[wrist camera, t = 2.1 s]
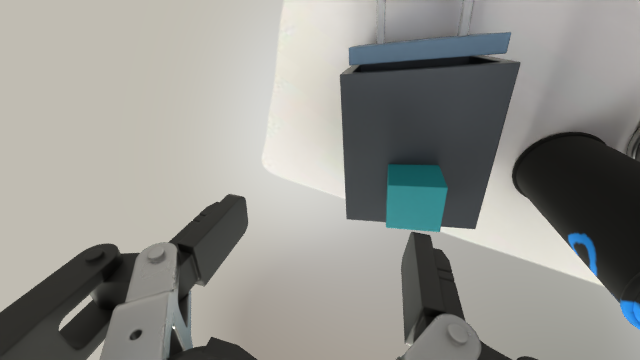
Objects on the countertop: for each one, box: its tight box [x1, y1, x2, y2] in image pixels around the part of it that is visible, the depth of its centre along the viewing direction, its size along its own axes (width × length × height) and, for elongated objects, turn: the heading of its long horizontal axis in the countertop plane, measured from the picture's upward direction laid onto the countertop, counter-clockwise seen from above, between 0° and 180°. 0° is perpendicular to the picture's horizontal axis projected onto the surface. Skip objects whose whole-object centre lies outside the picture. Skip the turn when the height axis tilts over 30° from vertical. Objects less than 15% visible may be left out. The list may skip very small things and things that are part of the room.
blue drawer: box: [349, 0, 511, 65], centre depth 22 cm, size 17×10×7 cm, turn 5°
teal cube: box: [386, 164, 448, 232], centre depth 20 cm, size 4×4×4 cm
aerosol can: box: [512, 132, 640, 329], centre depth 18 cm, size 8×8×20 cm
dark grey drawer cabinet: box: [340, 55, 520, 229], centre depth 24 cm, size 14×12×9 cm
